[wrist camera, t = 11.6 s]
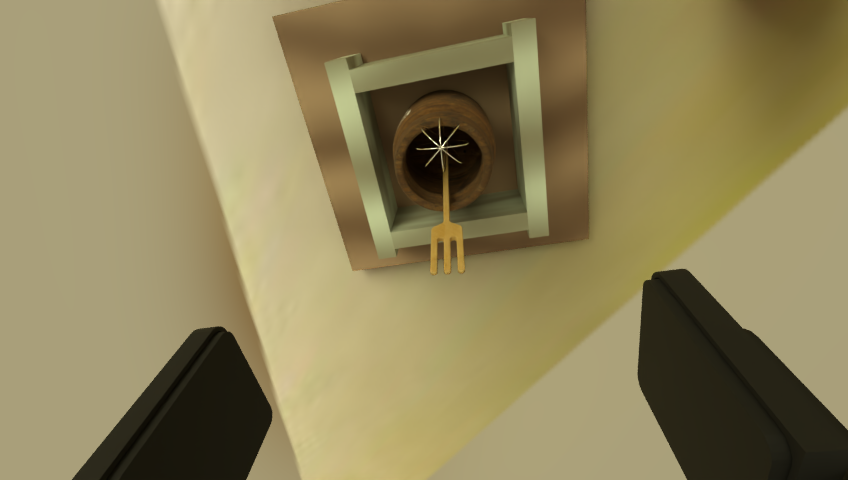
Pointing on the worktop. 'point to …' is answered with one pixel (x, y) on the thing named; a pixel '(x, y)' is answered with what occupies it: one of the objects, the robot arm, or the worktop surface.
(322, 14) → the collar stand
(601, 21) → the worktop surface
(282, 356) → the worktop surface
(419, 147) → the utensil holder
